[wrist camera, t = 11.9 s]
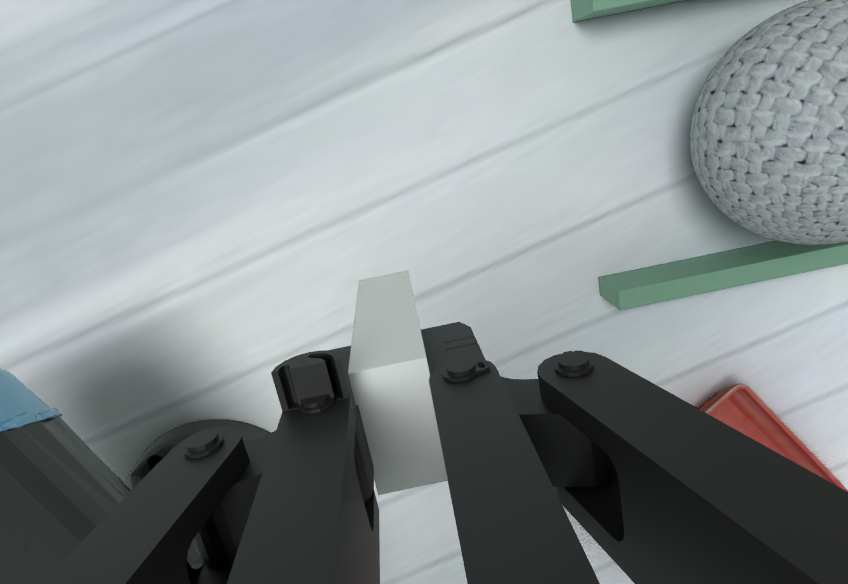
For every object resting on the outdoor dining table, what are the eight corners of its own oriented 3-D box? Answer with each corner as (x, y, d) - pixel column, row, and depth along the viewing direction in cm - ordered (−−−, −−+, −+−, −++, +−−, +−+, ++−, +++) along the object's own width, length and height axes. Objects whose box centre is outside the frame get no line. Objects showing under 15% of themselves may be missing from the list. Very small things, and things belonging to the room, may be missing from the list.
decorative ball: (721, -23, 40) (916, -106, 25) (881, 76, 43) (1136, 52, 28) (614, 173, 43) (732, 198, 29) (768, 253, 46) (945, 312, 32)
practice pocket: (600, 294, 46) (620, 310, 42) (570, -2, 39) (591, -15, 35) (855, 242, 46) (898, 252, 42) (868, -59, 40) (920, -79, 36)
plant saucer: (686, 599, 56) (705, 628, 53) (567, 499, 52) (580, 523, 49) (831, 480, 53) (860, 502, 50) (719, 363, 49) (743, 379, 46)
